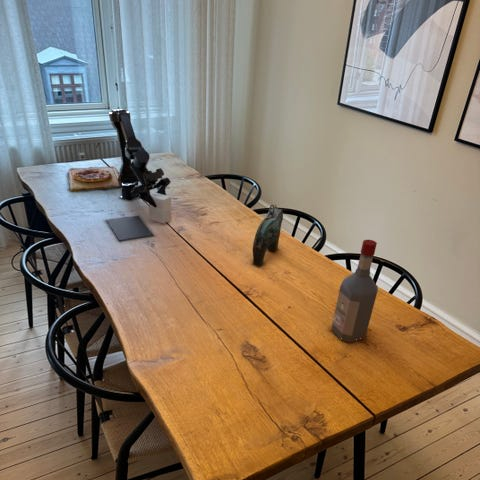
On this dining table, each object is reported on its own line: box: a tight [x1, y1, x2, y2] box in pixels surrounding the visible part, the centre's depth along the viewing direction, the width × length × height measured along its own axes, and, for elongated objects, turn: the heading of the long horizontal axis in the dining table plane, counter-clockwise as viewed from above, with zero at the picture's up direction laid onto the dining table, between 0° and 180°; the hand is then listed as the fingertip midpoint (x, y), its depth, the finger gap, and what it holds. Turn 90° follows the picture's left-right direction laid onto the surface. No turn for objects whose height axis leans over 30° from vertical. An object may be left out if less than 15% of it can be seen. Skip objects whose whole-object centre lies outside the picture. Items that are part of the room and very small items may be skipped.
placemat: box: [106, 215, 154, 242], centre depth 190 cm, size 22×14×1 cm, turn 27°
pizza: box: [67, 165, 120, 193], centre depth 237 cm, size 35×28×4 cm
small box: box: [148, 192, 172, 224], centre depth 194 cm, size 8×6×10 cm
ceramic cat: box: [252, 204, 284, 267], centre depth 170 cm, size 20×6×20 cm, turn 154°
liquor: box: [330, 239, 379, 344], centre depth 128 cm, size 9×9×30 cm
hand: (161, 205), depth 193 cm, fingers closed on small box, 6 cm apart
